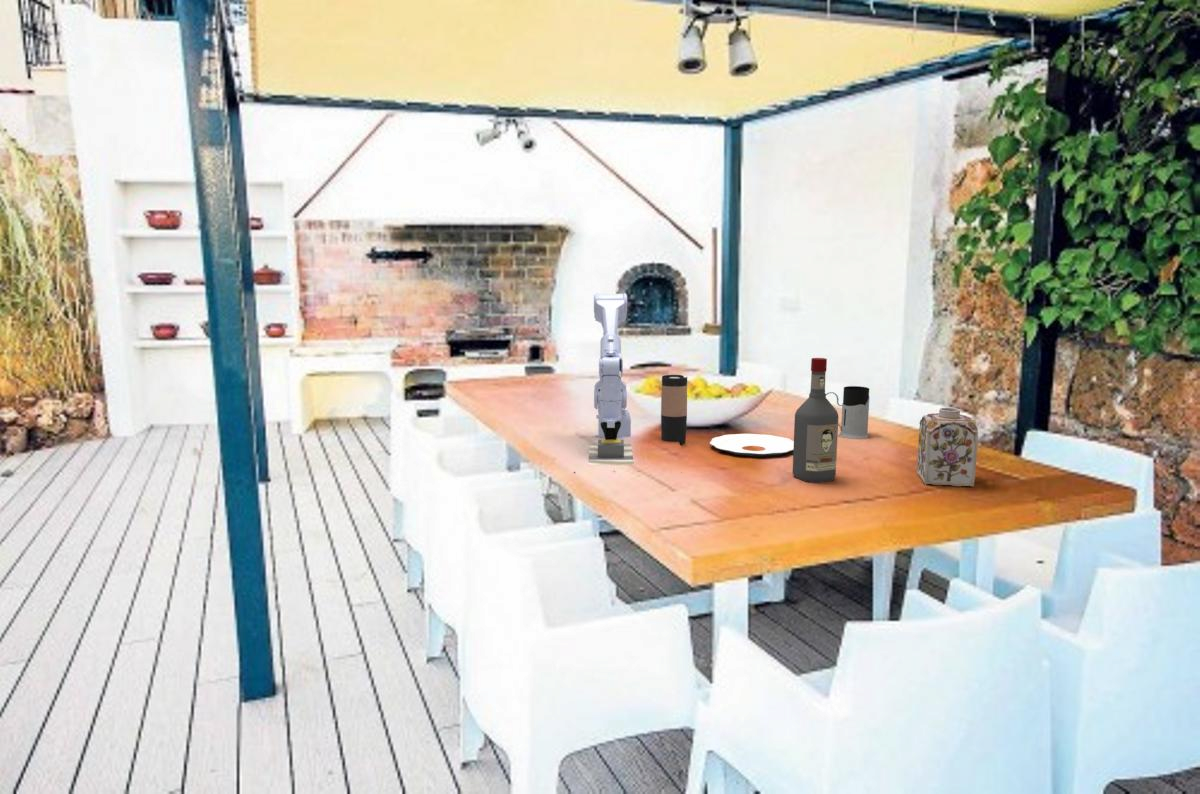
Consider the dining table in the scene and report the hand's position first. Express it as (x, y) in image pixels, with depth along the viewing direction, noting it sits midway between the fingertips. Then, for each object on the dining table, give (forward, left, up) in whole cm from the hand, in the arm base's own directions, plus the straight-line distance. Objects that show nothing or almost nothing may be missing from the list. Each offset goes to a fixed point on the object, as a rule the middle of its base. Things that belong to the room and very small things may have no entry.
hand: (610, 448), depth 227 cm
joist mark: (+2, +6, -2) cm, 7 cm away
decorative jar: (-69, +51, -2) cm, 86 cm away
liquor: (-40, +38, -2) cm, 56 cm away
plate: (-42, +5, -3) cm, 43 cm away
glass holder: (-77, 0, -2) cm, 77 cm away
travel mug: (-23, -9, -2) cm, 25 cm away
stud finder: (+1, +4, -1) cm, 4 cm away
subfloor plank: (+1, +2, -2) cm, 3 cm away
